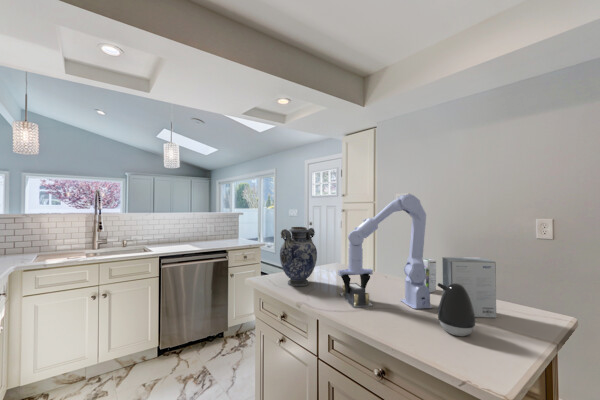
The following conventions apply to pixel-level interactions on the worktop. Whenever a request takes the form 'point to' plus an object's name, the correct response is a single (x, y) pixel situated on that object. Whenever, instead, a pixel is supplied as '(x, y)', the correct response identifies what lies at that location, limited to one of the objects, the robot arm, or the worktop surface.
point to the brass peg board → (356, 303)
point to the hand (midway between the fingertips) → (355, 292)
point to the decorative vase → (298, 255)
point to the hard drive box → (473, 281)
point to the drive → (356, 292)
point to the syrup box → (430, 274)
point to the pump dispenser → (456, 310)
